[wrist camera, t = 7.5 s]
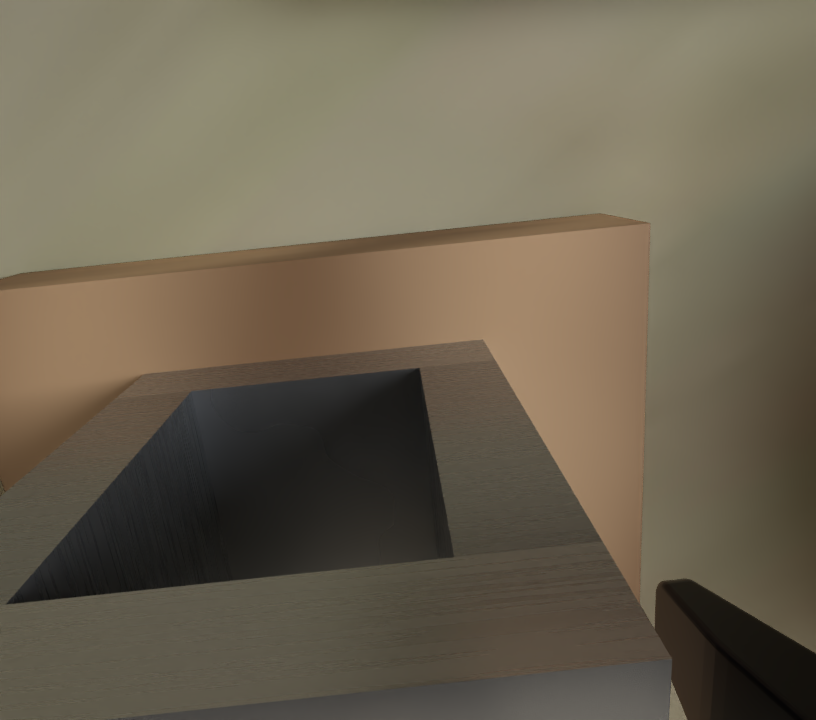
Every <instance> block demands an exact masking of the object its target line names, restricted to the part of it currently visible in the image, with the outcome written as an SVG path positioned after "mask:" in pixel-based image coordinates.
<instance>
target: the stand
mask: <svg viewBox="0 0 816 720" xmlns="http://www.w3.org/2000/svg"><path fill="white" fill-rule="evenodd" d="M649 251H650V223H647V222H641V221H636V220H631V219H626V218H621V217H616V216H611V215H606V214H601V213H600V214H590V215H581V216H571V217H561V218H552V219H542V220H532V221H523V222H513V223H503V224H494V225H484V226H474V227H465V228H455V229H445V230H436V231H426V232H416V233H407V234H397V235H387V236H378V237H368V238H358V239H349V240H339V241H329V242H320V243H310V244H300V245H291V246H281V247H271V248H262V249H252V250H242V251H233V252H223V253H213V254H204V255H194V256H184V257H175V258H165V259H155V260H145V261H136V262H126V263H116V264H107V265H97V266H87V267H78V268H68V269H58V270H49V271H39V272H29V273H21V274H17V275H14V276H10V277H6V278H3V279H0V479H1V482H2V485H3V488H4V490H5V492H6V491H7V490H9V489H10V488H11V487H12V486H13V485H14V484H16V483H17V482H18V481H19V480H20V479H22V478H23V477H24V476H25V475H26V474H27V473H29V472H30V471H31V470H32V469H33V468H34V467H36V466H37V465H38V464H39V463H40V462H42V461H43V460H44V459H45V458H46V457H47V456H49V455H50V454H51V453H52V452H53V451H54V450H56V449H57V448H58V447H59V446H60V445H61V444H63V443H64V442H65V441H66V440H67V439H69V438H70V437H71V436H72V435H73V434H74V433H76V432H77V431H78V430H79V429H80V428H81V427H83V426H84V425H85V424H86V423H87V422H89V421H90V420H91V419H92V418H93V417H94V416H96V415H97V414H98V413H99V412H100V411H101V410H103V409H104V408H105V407H106V406H107V405H109V404H110V403H111V402H112V401H113V400H114V399H116V398H117V397H118V396H119V395H120V394H121V393H123V392H124V391H125V390H126V389H127V388H129V387H130V386H131V385H132V384H133V383H134V382H136V381H137V380H138V379H139V378H140V377H141V376H143V375H144V374H149V373H159V372H168V371H178V370H188V369H198V368H208V367H217V366H227V365H237V364H247V363H257V362H266V361H276V360H286V359H296V358H305V357H315V356H325V355H335V354H345V353H354V352H364V351H374V350H384V349H394V348H403V347H413V346H423V345H433V344H443V343H452V342H462V341H472V340H482V339H483V340H484V342H485V343H486V345H487V347H488V349H489V350H490V352H491V354H492V355H493V357H494V359H495V360H496V362H497V364H498V365H499V367H500V369H501V370H502V372H503V374H504V376H505V377H506V379H507V381H508V382H509V384H510V386H511V387H512V389H513V391H514V392H515V394H516V396H517V398H518V399H519V401H520V403H521V404H522V406H523V408H524V409H525V411H526V413H527V414H528V416H529V418H530V420H531V421H532V423H533V425H534V426H535V428H536V430H537V431H538V433H539V435H540V436H541V438H542V440H543V441H544V443H545V445H546V447H547V448H548V450H549V452H550V453H551V455H552V457H553V458H554V460H555V462H556V463H557V465H558V467H559V469H560V470H561V472H562V474H563V475H564V477H565V479H566V480H567V482H568V484H569V485H570V487H571V489H572V491H573V492H574V494H575V496H576V497H577V499H578V501H579V502H580V504H581V506H582V507H583V509H584V511H585V513H586V514H587V516H588V518H589V519H590V521H591V523H592V524H593V526H594V528H595V529H596V531H597V533H598V534H599V536H600V538H601V540H602V541H603V543H604V545H605V546H606V548H607V550H608V551H609V553H610V555H611V556H612V558H613V560H614V562H615V563H616V565H617V567H618V568H619V570H620V572H621V573H622V575H623V577H624V578H625V580H626V582H627V584H628V585H629V587H630V589H631V590H632V592H633V594H634V595H635V597H636V599H637V600H638V602H639V604H640V571H641V535H642V500H643V464H644V429H645V393H646V358H647V322H648V287H649Z"/></svg>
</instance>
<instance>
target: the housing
mask: <svg viewBox="0 0 816 720" xmlns="http://www.w3.org/2000/svg"><path fill="white" fill-rule="evenodd" d="M671 670H672V658H671V656H670V655H669V653H668V651H667V649H666V648H665V646H664V644H663V643H662V641H661V639H660V638H659V636H658V634H657V633H656V631H655V629H654V627H653V626H652V624H651V622H650V621H649V619H648V617H647V616H646V614H645V612H644V611H643V609H642V607H641V605H640V604H639V602H638V600H637V599H636V597H635V595H634V594H633V592H632V590H631V589H630V587H629V585H628V584H627V582H626V580H625V578H624V577H623V575H622V573H621V572H620V570H619V568H618V567H617V565H616V563H615V562H614V560H613V558H612V556H611V555H610V553H609V551H608V550H607V548H606V546H605V545H604V543H603V541H602V540H601V538H600V536H599V534H598V533H597V531H596V529H595V528H594V526H593V524H592V523H591V521H590V519H589V518H588V516H587V514H586V513H585V511H584V509H583V507H582V506H581V504H580V502H579V501H578V499H577V497H576V496H575V494H574V492H573V491H572V489H571V487H570V485H569V484H568V482H567V480H566V479H565V477H564V475H563V474H562V472H561V470H560V469H559V467H558V465H557V463H556V462H555V460H554V458H553V457H552V455H551V453H550V452H549V450H548V448H547V447H546V445H545V443H544V441H543V440H542V438H541V436H540V435H539V433H538V431H537V430H536V428H535V426H534V425H533V423H532V421H531V420H530V418H529V416H528V414H527V413H526V411H525V409H524V408H523V406H522V404H521V403H520V401H519V399H518V398H517V396H516V394H515V392H514V391H513V389H512V387H511V386H510V384H509V382H508V381H507V379H506V377H505V376H504V374H503V372H502V370H501V369H500V367H499V365H498V364H497V362H496V360H495V359H494V357H493V355H492V354H491V352H490V350H489V349H488V347H487V345H486V343H485V342H484V340H483V339H482V340H472V341H462V342H452V343H443V344H433V345H423V346H413V347H403V348H394V349H384V350H374V351H364V352H354V353H345V354H335V355H325V356H315V357H305V358H296V359H286V360H276V361H266V362H257V363H247V364H237V365H227V366H217V367H208V368H198V369H188V370H178V371H168V372H159V373H149V374H144V375H143V376H141V377H140V378H139V379H138V380H137V381H136V382H134V383H133V384H132V385H131V386H130V387H129V388H127V389H126V390H125V391H124V392H123V393H121V394H120V395H119V396H118V397H117V398H116V399H114V400H113V401H112V402H111V403H110V404H109V405H107V406H106V407H105V408H104V409H103V410H101V411H100V412H99V413H98V414H97V415H96V416H94V417H93V418H92V419H91V420H90V421H89V422H87V423H86V424H85V425H84V426H83V427H81V428H80V429H79V430H78V431H77V432H76V433H74V434H73V435H72V436H71V437H70V438H69V439H67V440H66V441H65V442H64V443H63V444H61V445H60V446H59V447H58V448H57V449H56V450H54V451H53V452H52V453H51V454H50V455H49V456H47V457H46V458H45V459H44V460H43V461H42V462H40V463H39V464H38V465H37V466H36V467H34V468H33V469H32V470H31V471H30V472H29V473H27V474H26V475H25V476H24V477H23V478H22V479H20V480H19V481H18V482H17V483H16V484H14V485H13V486H12V487H11V488H10V489H9V490H7V491H6V492H5V493H4V494H3V495H2V496H0V720H669V707H670V688H671Z"/></svg>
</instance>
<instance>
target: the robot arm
mask: <svg viewBox="0 0 816 720" xmlns="http://www.w3.org/2000/svg"><path fill="white" fill-rule="evenodd" d="M655 631H656V633H657V634H658V636H659V638H660V639H661V641H662V643H663V644H664V646H665V648H666V649H667V651H668V653H669V655H670V656H671V658H672V670H671V680H672V683H673V685H674V688H675V690H676V693H677V695H678V698H679V700H680V702H681V705H682V707H683V710H684V712H685V715H686V717H687V720H816V653H814V652H812V651H811V650H809V649H807V648H806V647H804V646H802V645H800V644H799V643H797V642H795V641H794V640H792V639H790V638H789V637H787V636H785V635H784V634H782V633H780V632H779V631H777V630H775V629H773V628H772V627H770V626H768V625H767V624H765V623H763V622H762V621H760V620H758V619H757V618H755V617H753V616H752V615H750V614H748V613H746V612H745V611H743V610H741V609H740V608H738V607H736V606H735V605H733V604H731V603H730V602H728V601H726V600H725V599H723V598H721V597H719V596H718V595H716V594H714V593H713V592H711V591H709V590H708V589H706V588H704V587H703V586H701V585H699V584H698V583H696V582H694V581H692V580H690V579H677V580H667V581H662V582H660V583H659V584H658V586H657V589H656V607H655Z"/></svg>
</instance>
